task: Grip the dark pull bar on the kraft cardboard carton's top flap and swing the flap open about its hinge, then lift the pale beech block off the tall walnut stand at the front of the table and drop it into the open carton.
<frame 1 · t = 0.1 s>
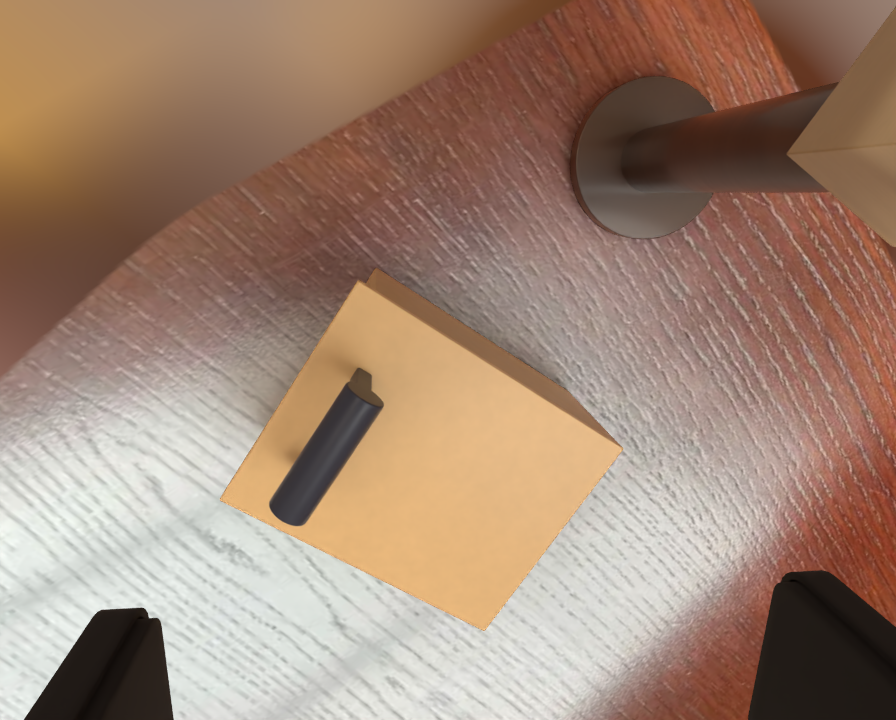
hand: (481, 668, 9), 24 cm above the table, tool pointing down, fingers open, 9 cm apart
stand: (642, 161, 31), on the table
carton flap: (431, 493, 24), point 10 cm above the table, hinge at 0.0°
carton: (421, 412, 34), on the table
block: (894, 131, 16), point 16 cm above the table, touching stand
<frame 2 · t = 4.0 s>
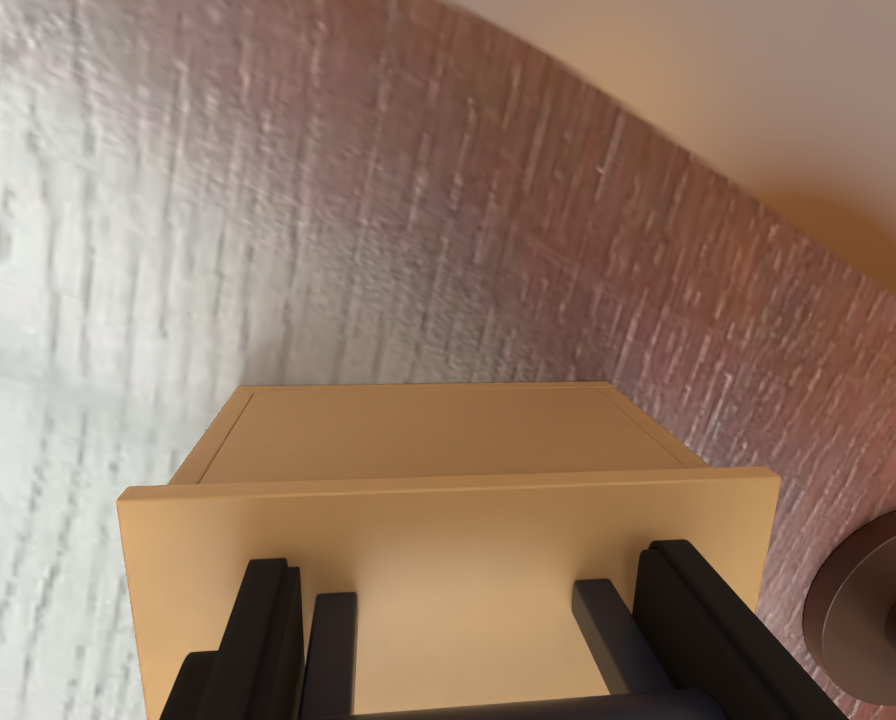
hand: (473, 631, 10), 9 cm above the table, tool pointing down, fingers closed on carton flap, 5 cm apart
carton: (426, 572, 20), on the table
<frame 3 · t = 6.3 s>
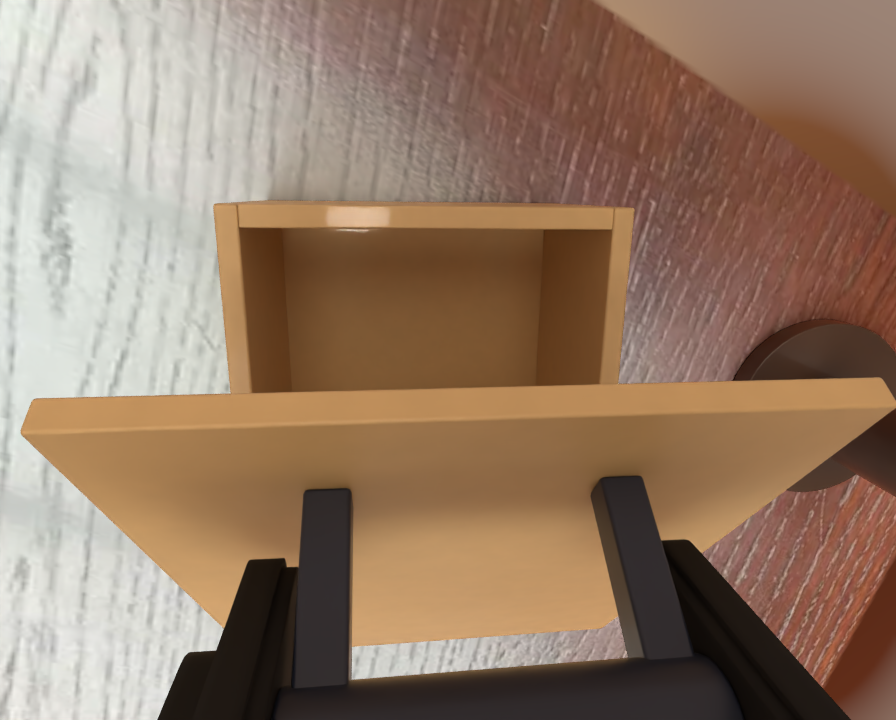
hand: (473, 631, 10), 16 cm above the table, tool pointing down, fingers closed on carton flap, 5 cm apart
stand: (806, 403, 27), on the table
carton flap: (457, 668, 12), point 14 cm above the table, hinge at 38.6°, touching gripper
carton: (415, 365, 25), on the table
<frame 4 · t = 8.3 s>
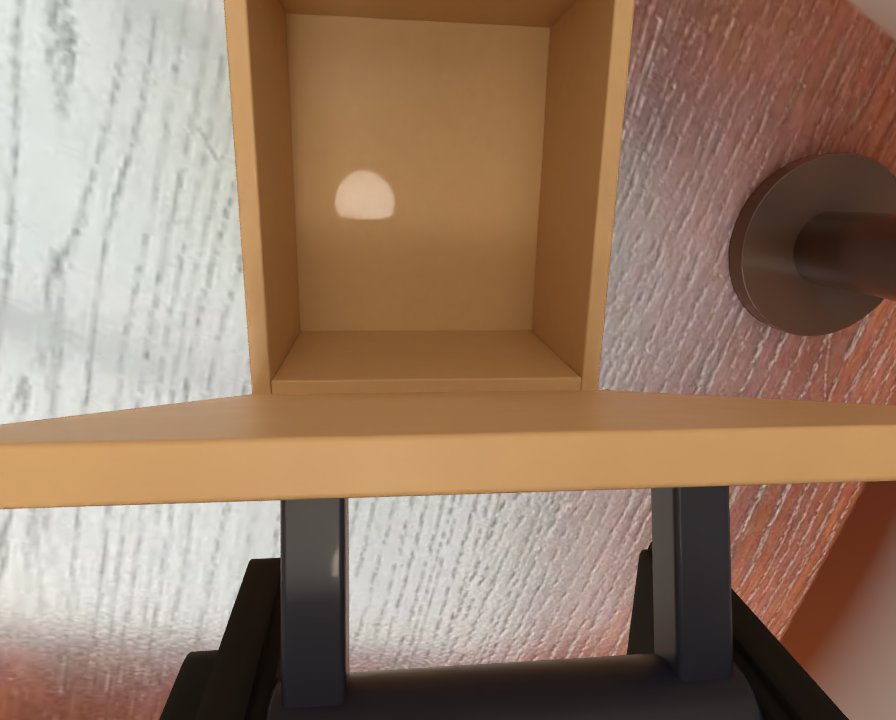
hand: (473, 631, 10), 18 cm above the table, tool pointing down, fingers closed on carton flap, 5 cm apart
stand: (811, 246, 27), on the table
carton flap: (459, 515, 12), point 15 cm above the table, hinge at 72.5°, touching gripper
carton: (418, 186, 25), on the table
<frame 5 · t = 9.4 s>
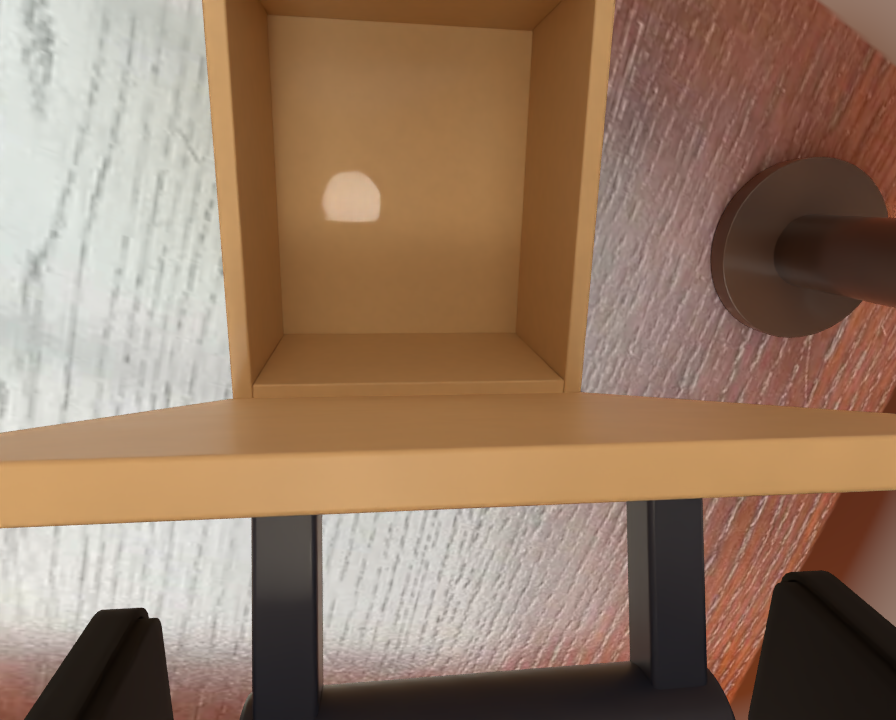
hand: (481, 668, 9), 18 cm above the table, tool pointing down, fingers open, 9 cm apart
stand: (792, 249, 27), on the table
carton flap: (439, 521, 12), point 15 cm above the table, hinge at 72.7°
carton: (402, 188, 24), on the table
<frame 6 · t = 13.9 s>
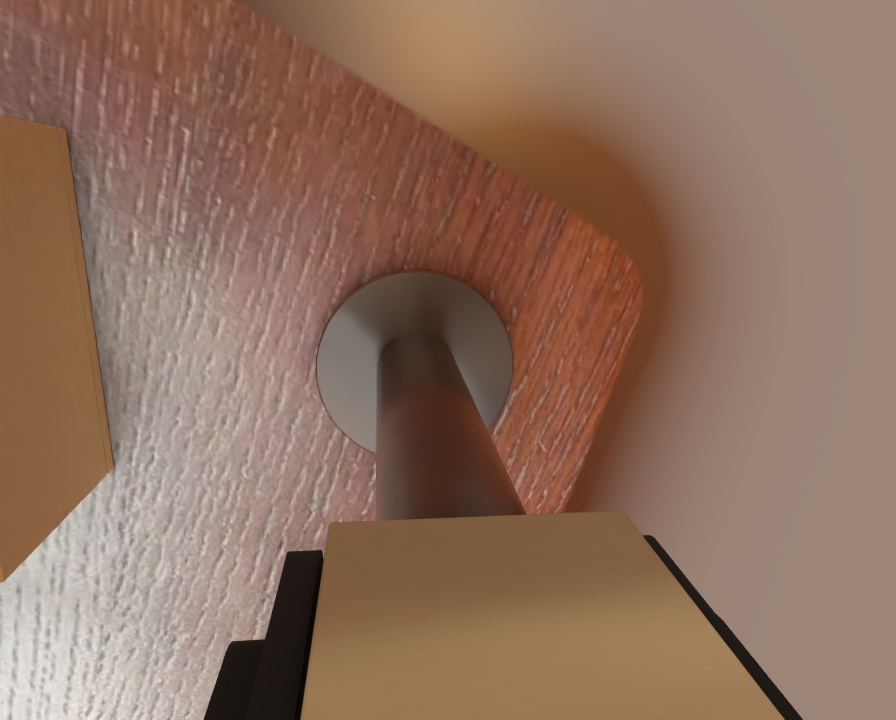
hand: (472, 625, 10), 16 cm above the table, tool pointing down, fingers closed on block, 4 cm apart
stand: (414, 364, 25), on the table
block: (475, 639, 9), point 16 cm above the table, touching gripper, stand
when the fingers open (7 cm above the table, at t = 22.2 s): block drops 7 cm, resting on carton.
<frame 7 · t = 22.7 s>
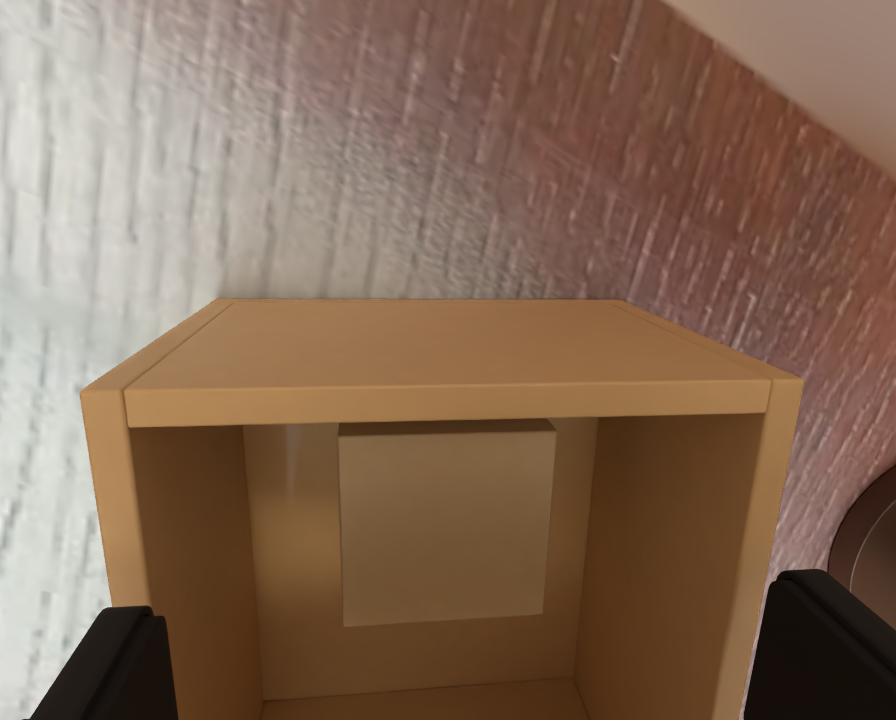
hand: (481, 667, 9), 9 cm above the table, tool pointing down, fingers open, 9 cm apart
carton: (424, 512, 18), on the table
block: (428, 445, 17), point 1 cm above the table, touching carton
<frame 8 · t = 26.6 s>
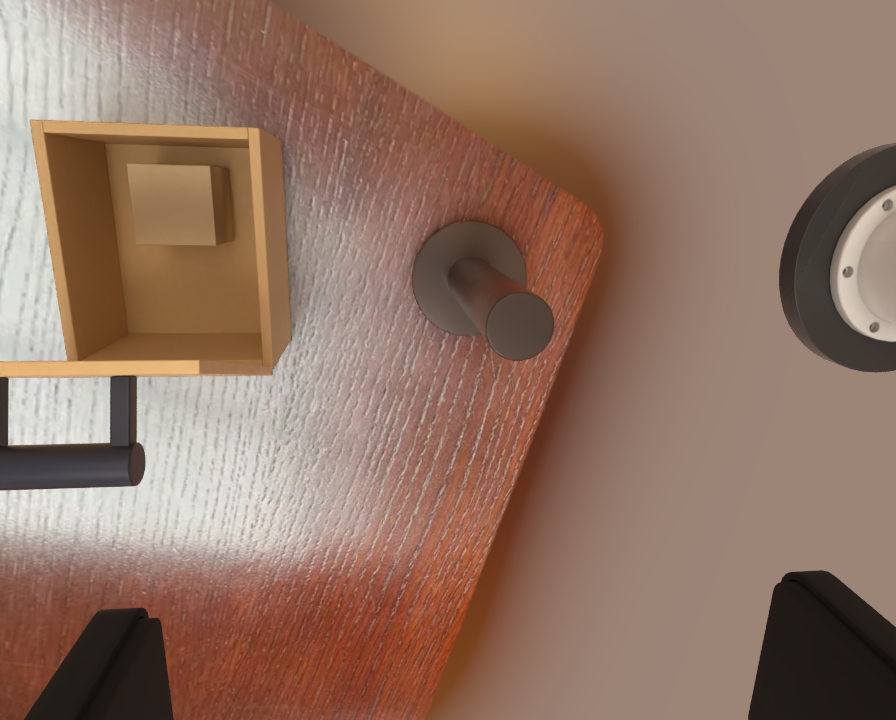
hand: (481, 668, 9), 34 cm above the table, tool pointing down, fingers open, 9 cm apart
stand: (468, 278, 42), on the table
carton flap: (116, 416, 26), point 15 cm above the table, hinge at 72.7°
carton: (200, 242, 39), on the table
block: (195, 204, 38), point 1 cm above the table, touching carton
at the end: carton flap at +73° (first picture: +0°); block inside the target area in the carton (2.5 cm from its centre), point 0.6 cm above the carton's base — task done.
